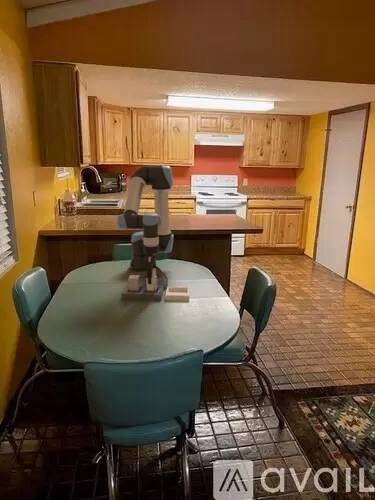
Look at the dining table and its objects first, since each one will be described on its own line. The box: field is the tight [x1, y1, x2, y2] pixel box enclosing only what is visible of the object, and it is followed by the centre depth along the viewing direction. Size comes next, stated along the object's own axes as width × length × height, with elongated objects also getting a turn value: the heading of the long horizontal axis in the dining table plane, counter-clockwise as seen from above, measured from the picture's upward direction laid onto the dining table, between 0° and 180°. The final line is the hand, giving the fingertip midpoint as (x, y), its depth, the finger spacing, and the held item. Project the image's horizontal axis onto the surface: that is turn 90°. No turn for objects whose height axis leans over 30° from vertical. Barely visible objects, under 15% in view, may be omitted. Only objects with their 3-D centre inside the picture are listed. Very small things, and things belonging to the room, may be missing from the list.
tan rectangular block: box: [145, 276, 157, 292], centre depth 175 cm, size 5×5×10 cm
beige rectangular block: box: [128, 274, 141, 292], centre depth 175 cm, size 5×5×10 cm
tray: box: [164, 286, 191, 301], centre depth 176 cm, size 12×12×3 cm
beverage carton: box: [146, 266, 169, 289], centre depth 194 cm, size 8×19×7 cm, turn 20°
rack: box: [121, 284, 165, 301], centre depth 176 cm, size 12×20×3 cm, turn 89°
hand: (151, 284), depth 175 cm, fingers open, 13 cm apart
